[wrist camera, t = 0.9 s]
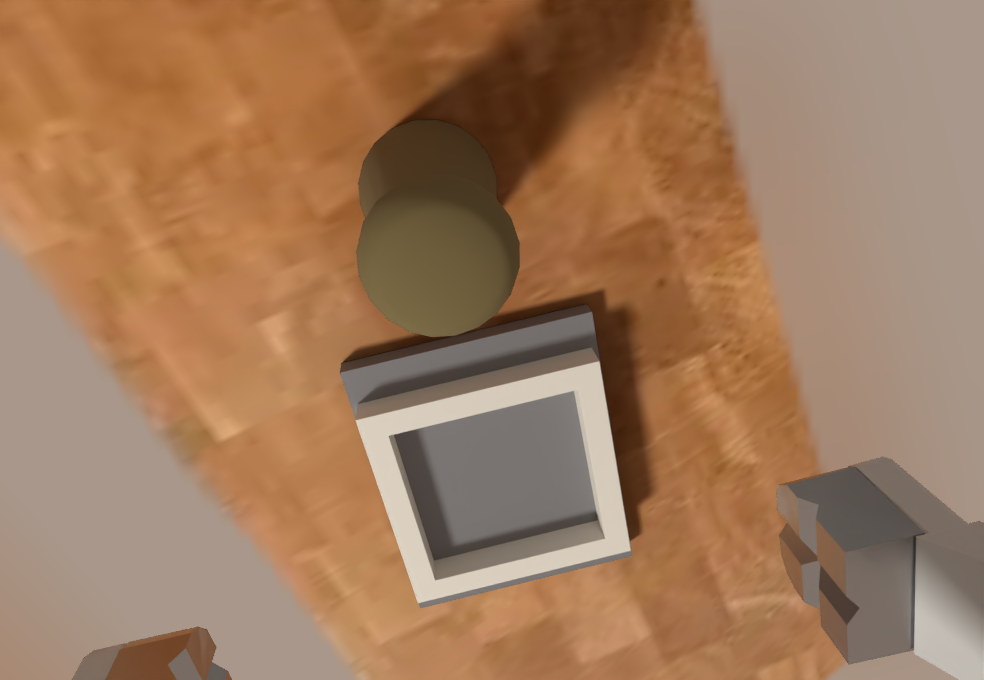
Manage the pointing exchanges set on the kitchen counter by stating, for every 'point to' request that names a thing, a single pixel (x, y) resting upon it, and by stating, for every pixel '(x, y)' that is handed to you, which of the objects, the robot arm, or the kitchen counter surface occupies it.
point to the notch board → (493, 454)
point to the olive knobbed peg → (434, 230)
